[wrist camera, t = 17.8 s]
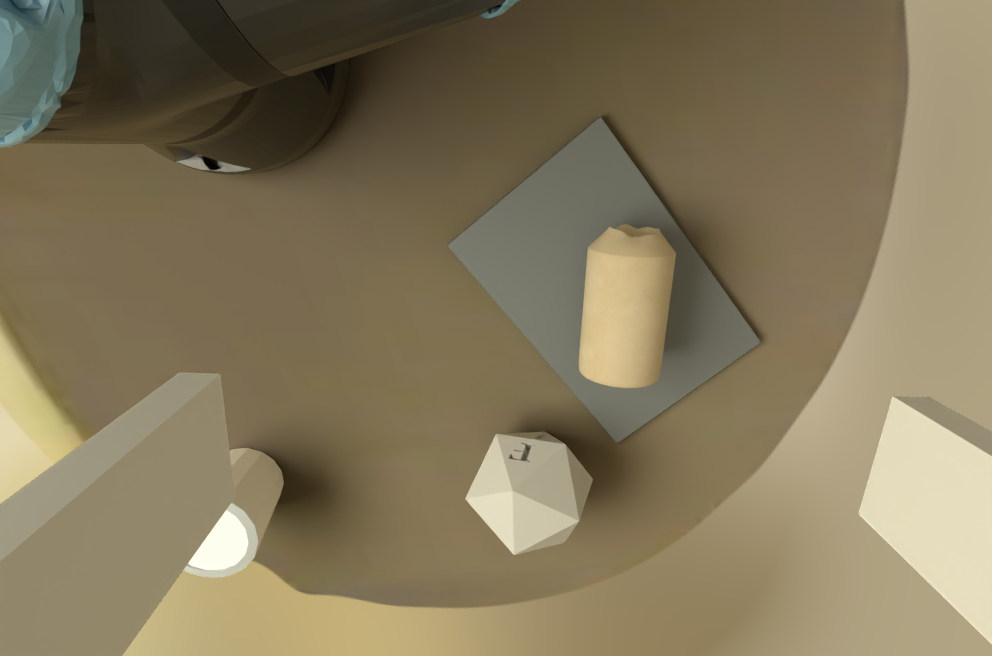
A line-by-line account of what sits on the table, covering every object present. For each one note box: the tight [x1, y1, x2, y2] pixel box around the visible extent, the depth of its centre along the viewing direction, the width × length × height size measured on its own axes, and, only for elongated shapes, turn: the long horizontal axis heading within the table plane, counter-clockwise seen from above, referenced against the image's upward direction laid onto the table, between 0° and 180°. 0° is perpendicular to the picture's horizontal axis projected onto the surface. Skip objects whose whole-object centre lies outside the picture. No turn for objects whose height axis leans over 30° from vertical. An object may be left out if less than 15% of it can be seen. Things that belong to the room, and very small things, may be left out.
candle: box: [579, 224, 676, 388], centre depth 36 cm, size 6×6×10 cm
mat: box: [448, 117, 761, 443], centre depth 39 cm, size 20×13×1 cm, turn 39°
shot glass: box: [184, 448, 284, 578], centre depth 41 cm, size 7×7×7 cm
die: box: [465, 431, 593, 555], centre depth 40 cm, size 8×9×10 cm
